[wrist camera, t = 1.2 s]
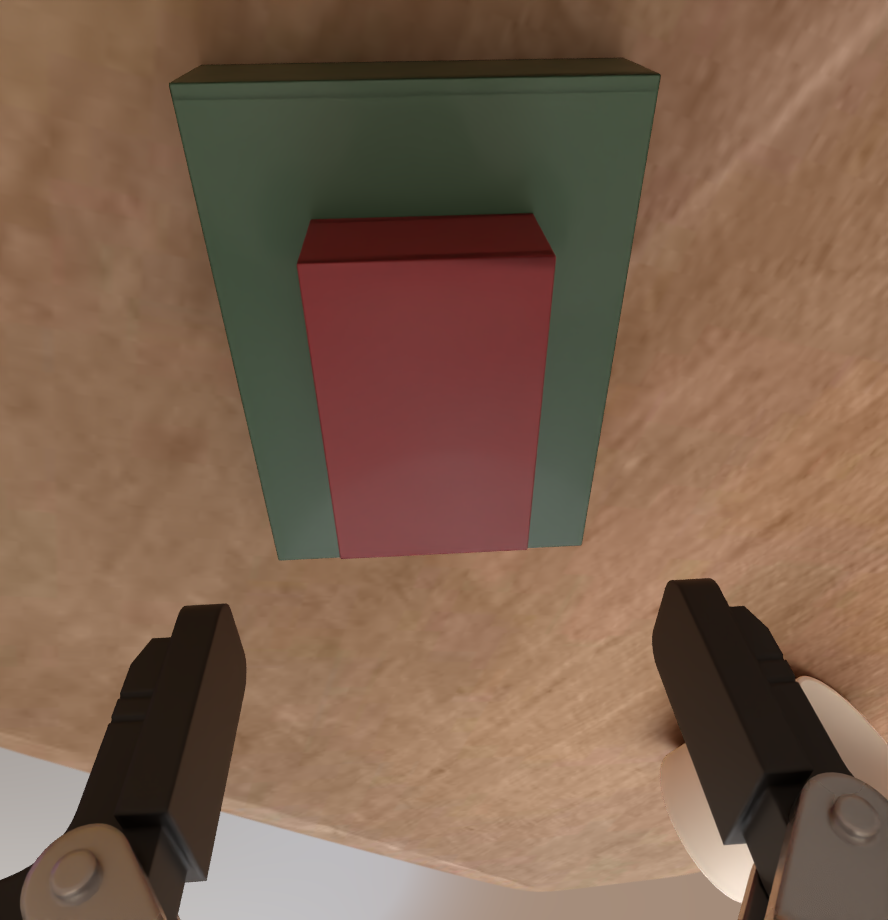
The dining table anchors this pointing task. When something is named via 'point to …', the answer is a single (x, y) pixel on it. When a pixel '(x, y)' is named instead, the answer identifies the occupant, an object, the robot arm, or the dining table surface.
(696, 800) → the mug
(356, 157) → the big book
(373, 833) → the dining table surface
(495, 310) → the pocket book
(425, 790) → the dining table surface
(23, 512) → the dining table surface
